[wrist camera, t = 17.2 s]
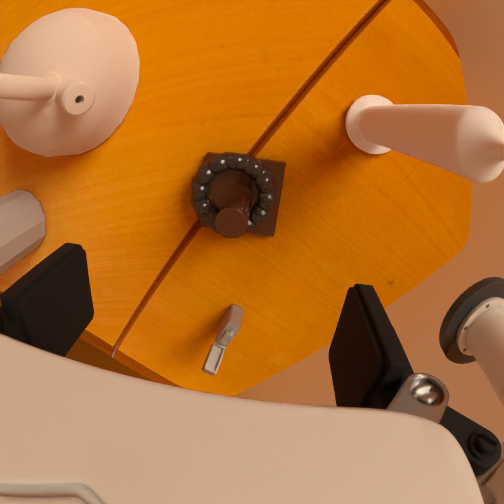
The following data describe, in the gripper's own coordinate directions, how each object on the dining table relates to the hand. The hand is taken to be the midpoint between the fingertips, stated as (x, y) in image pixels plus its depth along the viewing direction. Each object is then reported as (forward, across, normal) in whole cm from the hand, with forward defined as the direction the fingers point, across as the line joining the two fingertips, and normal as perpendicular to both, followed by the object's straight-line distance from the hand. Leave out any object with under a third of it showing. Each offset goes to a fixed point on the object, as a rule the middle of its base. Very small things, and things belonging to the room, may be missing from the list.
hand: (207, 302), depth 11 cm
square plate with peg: (+28, +1, +3) cm, 29 cm away
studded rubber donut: (+26, +2, +3) cm, 27 cm away
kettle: (+28, +25, -10) cm, 39 cm away
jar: (+28, +34, +10) cm, 46 cm away
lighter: (+29, +2, +22) cm, 36 cm away
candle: (+29, -13, -8) cm, 32 cm away
